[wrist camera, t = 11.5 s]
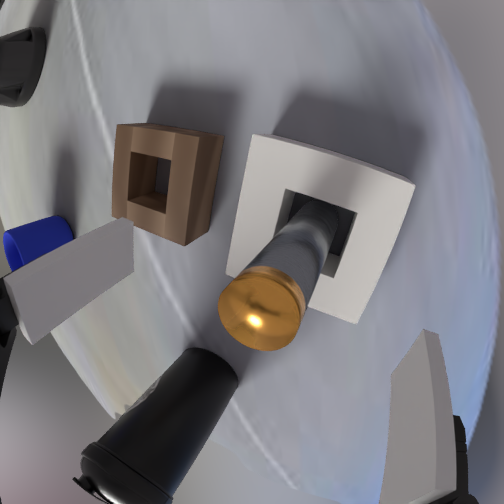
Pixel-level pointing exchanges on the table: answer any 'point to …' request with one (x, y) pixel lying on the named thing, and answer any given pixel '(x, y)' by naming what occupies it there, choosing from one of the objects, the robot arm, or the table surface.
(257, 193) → the dock block
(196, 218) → the mount block
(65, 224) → the mug
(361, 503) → the table surface
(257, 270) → the pin
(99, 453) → the water bottle
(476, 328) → the table surface
